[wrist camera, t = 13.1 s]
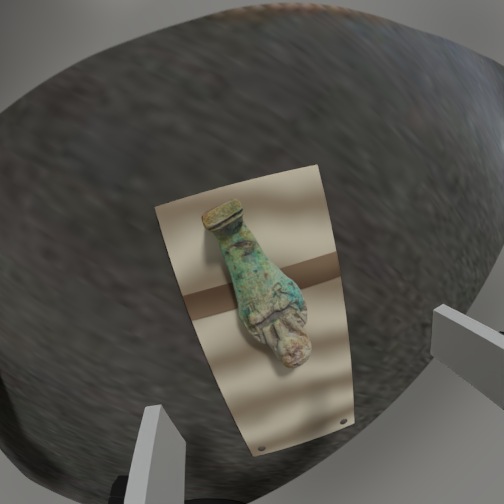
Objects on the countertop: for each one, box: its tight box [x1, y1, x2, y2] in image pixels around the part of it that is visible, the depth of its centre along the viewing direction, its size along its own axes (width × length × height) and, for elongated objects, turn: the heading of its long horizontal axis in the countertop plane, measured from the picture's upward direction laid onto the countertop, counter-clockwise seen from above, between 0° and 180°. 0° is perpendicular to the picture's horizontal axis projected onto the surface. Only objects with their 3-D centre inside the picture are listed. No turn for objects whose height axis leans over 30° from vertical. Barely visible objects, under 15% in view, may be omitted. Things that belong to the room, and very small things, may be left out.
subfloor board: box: [155, 165, 354, 457], centre depth 25 cm, size 32×14×1 cm, turn 15°
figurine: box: [201, 199, 312, 368], centre depth 21 cm, size 6×15×4 cm, turn 19°
